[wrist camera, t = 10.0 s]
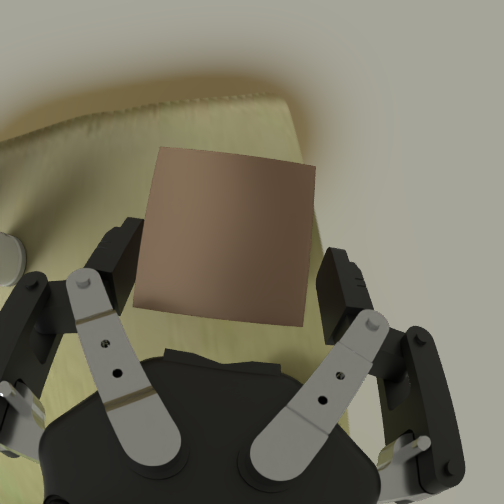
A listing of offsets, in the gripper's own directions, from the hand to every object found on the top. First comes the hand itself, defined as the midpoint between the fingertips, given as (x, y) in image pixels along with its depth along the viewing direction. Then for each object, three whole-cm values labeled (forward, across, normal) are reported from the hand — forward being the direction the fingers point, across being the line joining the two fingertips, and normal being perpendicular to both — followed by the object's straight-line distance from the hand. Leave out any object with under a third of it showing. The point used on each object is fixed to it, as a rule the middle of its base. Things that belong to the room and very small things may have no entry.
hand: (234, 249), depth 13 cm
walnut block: (+5, 0, -5) cm, 7 cm away
